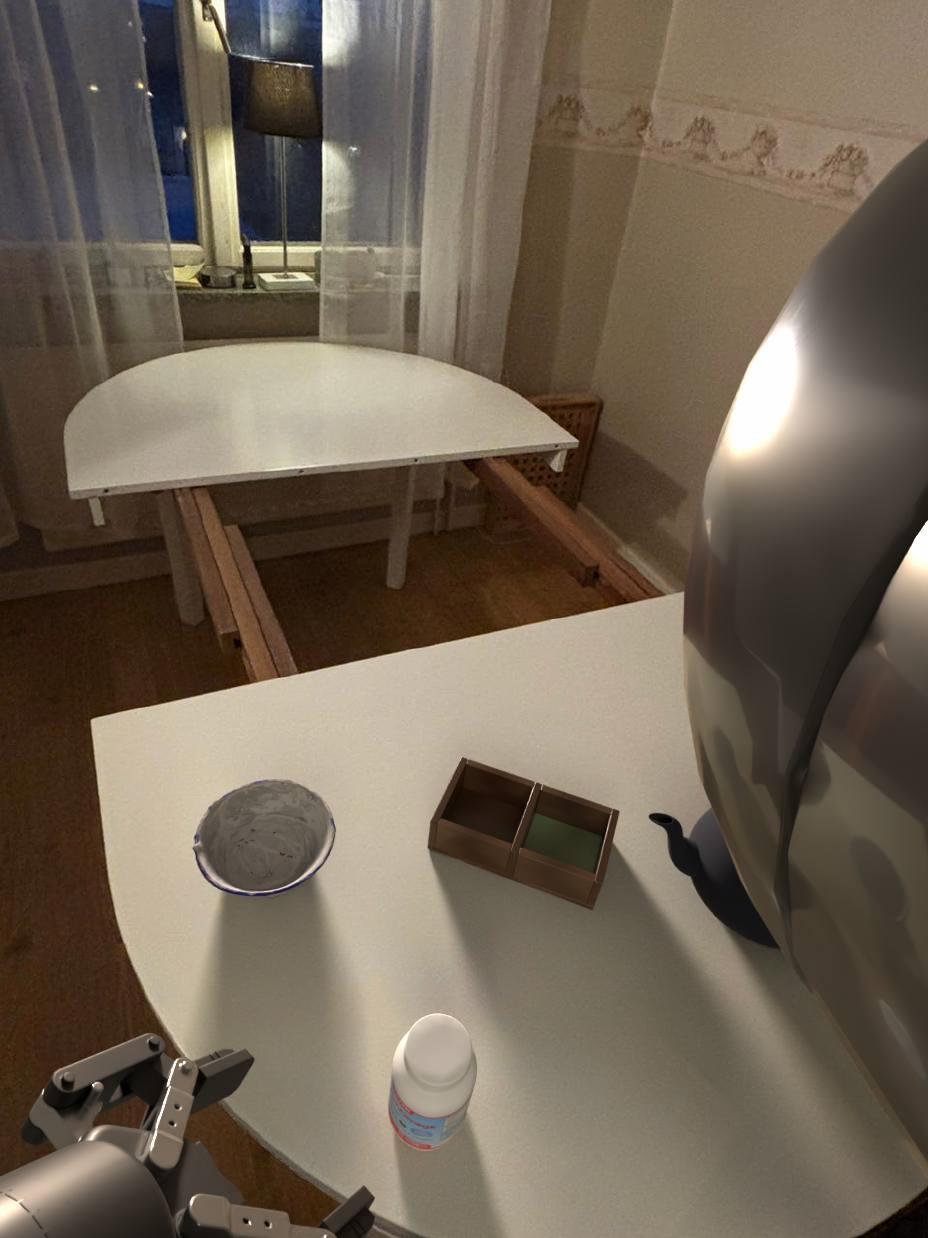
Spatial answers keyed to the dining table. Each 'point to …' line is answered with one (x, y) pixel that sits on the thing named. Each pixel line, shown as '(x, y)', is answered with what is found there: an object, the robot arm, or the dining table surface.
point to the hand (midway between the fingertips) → (297, 1134)
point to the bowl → (264, 838)
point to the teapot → (714, 875)
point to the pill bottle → (431, 1082)
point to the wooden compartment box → (524, 832)
